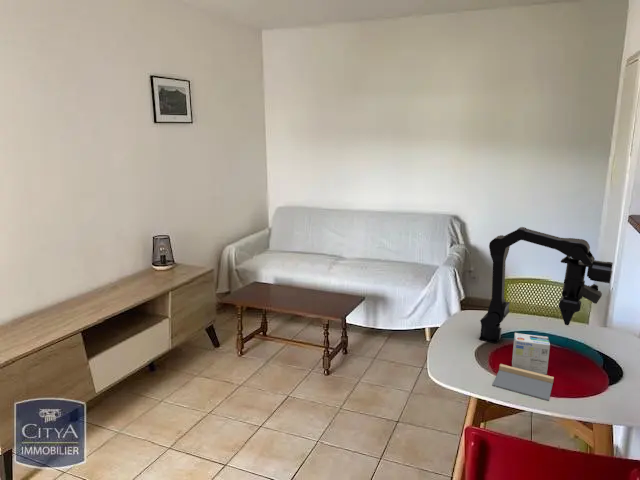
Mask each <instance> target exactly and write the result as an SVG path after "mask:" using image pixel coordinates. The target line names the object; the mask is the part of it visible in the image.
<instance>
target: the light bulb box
mask: <svg viewBox="0 0 640 480" xmlns="http://www.w3.org/2000/svg"><path fill="white" fill-rule="evenodd" d="M513 335H514V337H513V344H512V345H513V348H512V357H511V358H512V360H511V367H515V368H519V369H523V370H527V371H532V372H536V373H540V374H544V375H548V367H549V358H550V349H551V343H550V339H549V336H544V335H534V334H525V333H520V332H514V334H513Z"/></svg>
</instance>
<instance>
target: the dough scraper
mask: <svg viewBox="0 0 640 480" xmlns="http://www.w3.org/2000/svg"><path fill="white" fill-rule="evenodd" d="M498 367H499V368H498V372H497V373H496V376H495V378H494V379H493V382H492V385H491V386H492V387H495V386H496V387H495V388H499V389H502V390H507V391H511V392H515V393H517V394H522V395H525V396H529V397H532V398H536V399H540V400H544V401H550V397H551V394H552V389H553V384H554V379H555V377H554V376H550V375H548V374H540V373H536V372H532V371H527V370H523V369H519V368H515V367H512V365H511V366H510V365H507V364H503V363H500V364H499V366H498Z"/></svg>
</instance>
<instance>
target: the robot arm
mask: <svg viewBox="0 0 640 480" xmlns="http://www.w3.org/2000/svg"><path fill="white" fill-rule="evenodd" d="M520 241H523V242H527V243H531V244H535V245H538V246H542V247H546V248H548V249H549V248H550V249H552V250H556V251H558V252H560V253H561V254H563V255H565V256H564V257H562V258H561V260H560V263H563V264H566V267H565V274H564V280H563V286H562V290H561V291H562V292H561V297H560V298H559V302H558V308H559V310H560V313H561V314H560V315H561V316H562V320H563V322H564V325H565V326H569V325H570V323H571V321H572V318H573V316H574V314H576V313H579V312H580V311H581V308H582V301H581V300H582V299H583V298H584V299H587V300H588V301H590V302H591V303H592V304H594V305H595V304H597V303H598V302H599V301H600V299H601V297H602V296H603V293H602V292H601V290H599V285H598V284H595V283H592V284H591V285H590V284H589V285H587V284H585V283H586V280H585V275H586V277H588V279H589V280H590V281H594V282H599V283H605V284H609V285H610V284H611V279H612V275H613V270H612V269H613V264H614V262H611V261H603V260H595V256H594V255H593V254H592V252H591V250H590V249H591V247H590V244H589V242H588V241H587V240H585V239H582V238H574V237H572V238H571V237H559V236H556V235H552V234H548V233H545V232H540V231H536V230H534V229H529V228H527V227H525V226H524V227H523V226H520V227H519V228H517V229H516V230H514V231H511V232H510V233H507V234H505V235H503V234H501V235H497V236H496V237H494V238H493V239H492V240H490V242H489V245H488V247H489V254H490V257H491V260H492V280H491V281H492V285H491V299H490V303H489V306H488V310H487V313H486V314H484V316H482V318H481V319H480V320H479V321H480V324H481V325H480V336H479V337H478V339H479V340H480V341H485V342H489V343H494V344H497V343H498V342H499V341H500V340H501V336H502V327H501V323H502V322H503V321H504V320H505V318H506V317H507V315H509V313H510V309H509V308H510V301H506V298H505V287H506V286H505V285H506V283H505V282H506V260H507V258H508V256H509V255H508V254H509V251H510V248H511V246H512V245H514V244H516V243H518V242H520ZM586 271H587V273H586Z"/></svg>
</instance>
